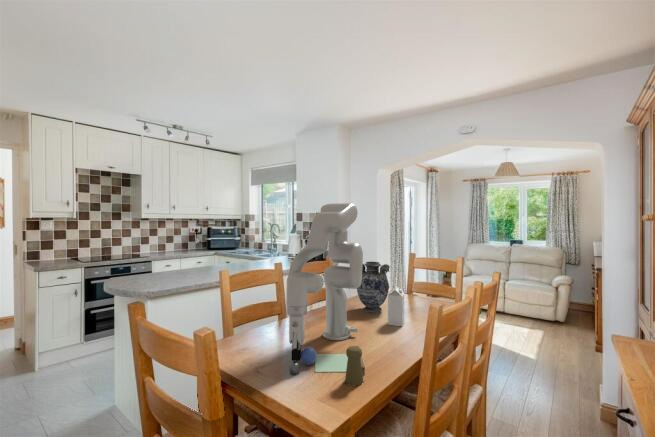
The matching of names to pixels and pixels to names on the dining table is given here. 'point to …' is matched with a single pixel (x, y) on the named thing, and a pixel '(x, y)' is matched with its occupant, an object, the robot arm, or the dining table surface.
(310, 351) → the ball
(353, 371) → the olive knobbed tapered cylinder
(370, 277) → the decorative vase
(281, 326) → the dining table surface
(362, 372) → the stopper strip
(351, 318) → the dining table surface
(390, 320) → the milk carton
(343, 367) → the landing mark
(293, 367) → the post
